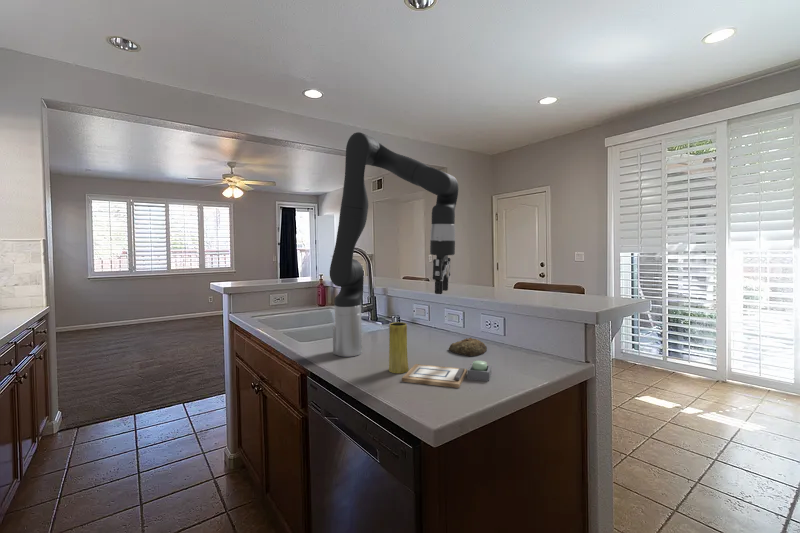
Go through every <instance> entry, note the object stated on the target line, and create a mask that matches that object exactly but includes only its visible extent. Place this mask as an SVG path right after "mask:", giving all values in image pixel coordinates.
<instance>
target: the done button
mask: <svg viewBox="0 0 800 533" xmlns="http://www.w3.org/2000/svg"><path fill="white" fill-rule="evenodd" d="M487 363H488V362H487V361H484V360H474V361H472V364H473V370H478V371H487V365H488V364H487Z"/></svg>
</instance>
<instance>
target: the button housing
mask: <svg viewBox="0 0 800 533" xmlns="http://www.w3.org/2000/svg"><path fill="white" fill-rule="evenodd" d="M466 376H467V380H473V381H475V380H476V381H482V382H483V381H484V382H490V380H491V377H492V365H488V364H487V371H478V370H473V363H470V365H469V366H468V369H467V374H466Z"/></svg>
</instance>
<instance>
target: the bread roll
mask: <svg viewBox="0 0 800 533" xmlns="http://www.w3.org/2000/svg"><path fill="white" fill-rule="evenodd" d="M487 349H488V348H487V345H486V344H485V343H484V342H483V341H481V340H479V339H476V338H472V337H468V338H464V339H462V340H460V341H456V342H453V343H451V344H450V345H449V348H448V350H449V351H450V352H452V353H455V354H459V355H460V356H465V357H477V356H481V355H483V354H485V353H486V352H487V351H488V350H487Z"/></svg>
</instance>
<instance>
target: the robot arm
mask: <svg viewBox="0 0 800 533" xmlns="http://www.w3.org/2000/svg"><path fill="white" fill-rule="evenodd" d="M345 147H346V148H345V166H344V167H345V168H344V180H343V188H342V195H341V196H342V197H341V204H340V208H339V209H340V210H339V219H338V226H337V232H336V238H335V239H336V240H335V246H334V249H333V253H332V258H331V262H330V267H329V278H330V281H331V283H332V284H333V285H334V286H336V287H338V288H340V290H339V292H338V293H337V295H336V296H335V297H334V326H333V327H332V355H336V356H339V357H354V356H355V357H356V356H359V355H361V354H363V352H362V350H363V349H362V348H363V346H362V339H363V338H362V298H363V296H364V282H365V281H364V277H365V276H364V269H363V266H362V263H361V262H359V260H357V259H355V258H354V259H353V257H354V253H355V252H354V251H355V247H356V245H357V242H358V240H359V238H360V237H361V235H362V233H363V231H364V229H365V227H366V224H367V220H368V212H369V198H368V193H367V188H366V185H365V184H366V183H365V171H366V166H372V167H376V168H379V169H384V170H386V171H388V172H390V173H392V174H394V175H395V176H396V177H398V178H399V179H402V180H404V181H406V182H408V183H411V184H413V185H415V186H417V187H420V188H422V189H424V190H425V191H427V192H429V193H431V194H433V195H436V196H437V197H436V204H435V205H434V206H433V207H432V210H431V226H430V235H429V236H430V238H429V239H430V242H429V244H430V246H429V254H430V255H431V256H436V258H433V261H432V263H433V264H432V280H433V281H434V294H435V295H442V294H443V292H445V291H446V292H447V291H448V290H449V279H450V276H451V258H450V257H449V256H455V255H456V254H455V253H456V248H455V247H456V226H455V225H456V224H455V223H456V222H455V220H456V219H455V218H456V217H455V216H456V212H455V211H456V207H457V206H456V205H457V202H458V197H459V182H458V179H457V178H456V177H455V176H454V175H452V174H449V173H447V172H445V171H443V170H441V169H437V168H434V167H431V166H430V165H427V164H426V163H424V162H421V161H419V160H417V159H416V158H415V159H414V158H412V157H410V156H406V155H404V154H403V155H402V154H400V153H396V151H395V152H394V151H392V150H390V149H389V148H387V147H386V146H384V145H383V144H382V143H380V142H379V141H377V139H376V138H374V137H372V136H369V135H368V134H366V133H363V132H359V131H358V132H354V133H353V134H351V135H350V136H349V138H348V140H347V143H346V146H345Z"/></svg>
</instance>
